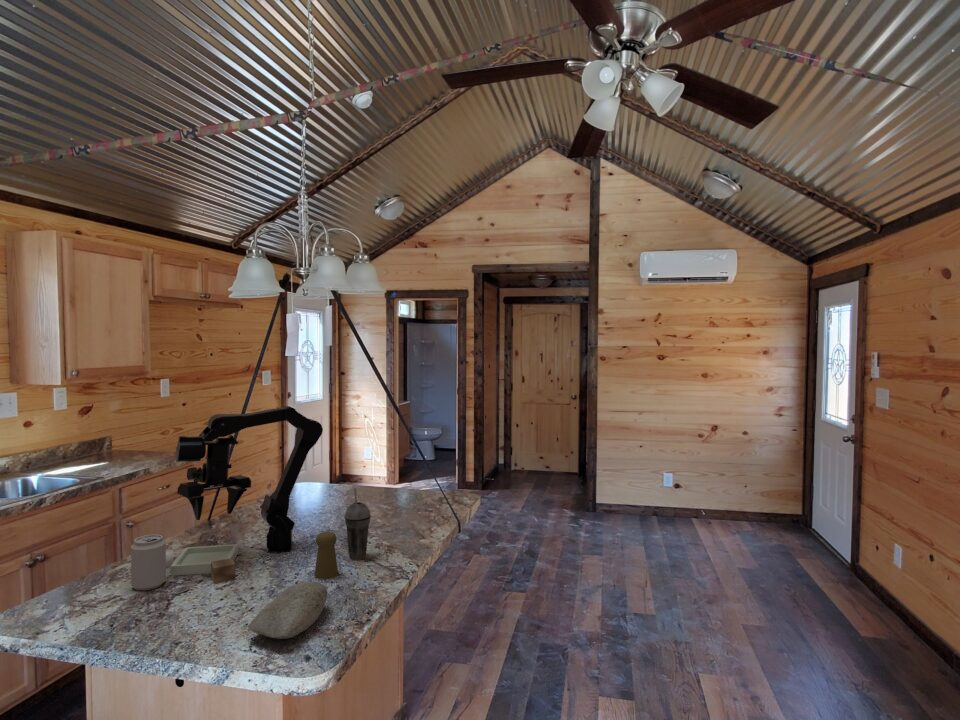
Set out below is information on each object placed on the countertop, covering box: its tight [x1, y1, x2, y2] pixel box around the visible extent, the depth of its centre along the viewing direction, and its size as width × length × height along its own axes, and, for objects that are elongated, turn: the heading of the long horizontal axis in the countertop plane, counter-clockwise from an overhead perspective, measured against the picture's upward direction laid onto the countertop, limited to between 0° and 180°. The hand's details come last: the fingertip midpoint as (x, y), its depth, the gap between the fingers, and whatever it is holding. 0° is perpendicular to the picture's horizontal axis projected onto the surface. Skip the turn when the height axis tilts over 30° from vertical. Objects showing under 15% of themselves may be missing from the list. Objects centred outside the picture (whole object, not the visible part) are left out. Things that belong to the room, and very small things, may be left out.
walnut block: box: [210, 558, 236, 584], centre depth 146 cm, size 5×5×4 cm
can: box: [130, 533, 167, 591], centre depth 141 cm, size 8×8×12 cm
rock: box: [248, 581, 329, 640], centre depth 121 cm, size 8×11×20 cm
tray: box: [169, 543, 239, 577], centre depth 155 cm, size 14×14×2 cm
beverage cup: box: [344, 487, 372, 561], centre depth 160 cm, size 7×7×20 cm
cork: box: [313, 531, 339, 580], centre depth 148 cm, size 6×6×11 cm
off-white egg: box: [166, 549, 175, 569], centre depth 153 cm, size 5×5×4 cm
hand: (213, 516), depth 156 cm, fingers open, 9 cm apart
